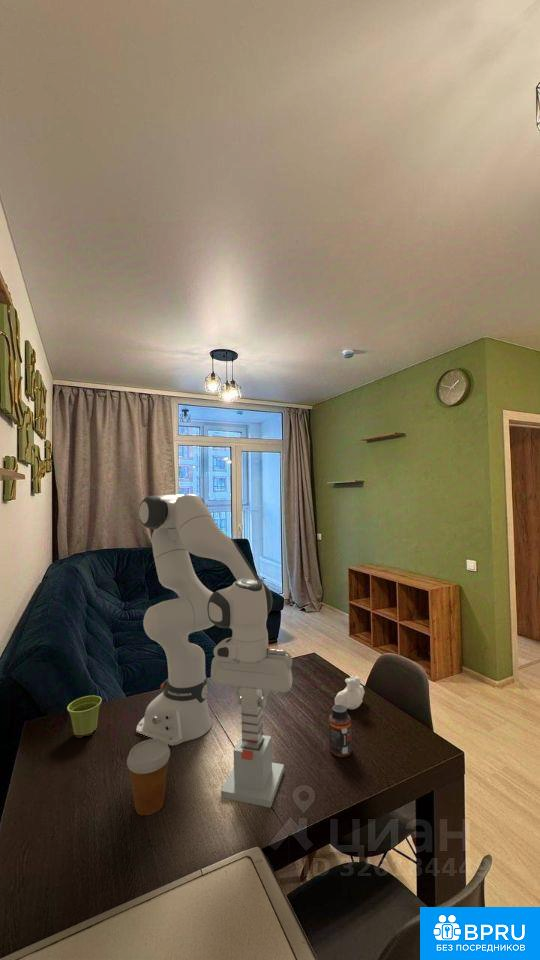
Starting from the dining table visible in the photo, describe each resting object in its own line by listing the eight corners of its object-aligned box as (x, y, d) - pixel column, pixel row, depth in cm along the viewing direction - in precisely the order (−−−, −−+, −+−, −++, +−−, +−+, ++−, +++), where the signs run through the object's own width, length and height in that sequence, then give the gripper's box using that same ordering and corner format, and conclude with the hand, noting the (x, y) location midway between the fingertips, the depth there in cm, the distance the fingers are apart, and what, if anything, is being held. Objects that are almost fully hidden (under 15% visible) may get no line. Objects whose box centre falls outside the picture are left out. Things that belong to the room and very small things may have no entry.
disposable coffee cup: (147, 829, 82) (146, 770, 82) (118, 810, 87) (117, 755, 87) (179, 798, 90) (179, 745, 90) (151, 783, 95) (151, 733, 95)
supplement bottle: (352, 759, 101) (350, 715, 102) (329, 757, 102) (327, 713, 103) (352, 745, 107) (350, 703, 107) (330, 743, 108) (328, 701, 109)
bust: (338, 719, 123) (352, 700, 118) (325, 696, 128) (338, 677, 123) (365, 707, 129) (380, 688, 124) (351, 686, 135) (365, 667, 129)
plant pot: (60, 738, 114) (59, 708, 114) (86, 721, 122) (85, 693, 123) (83, 745, 110) (83, 714, 110) (109, 727, 119) (108, 698, 119)
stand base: (221, 797, 90) (220, 752, 90) (239, 762, 101) (238, 723, 102) (270, 807, 86) (269, 761, 87) (284, 770, 98) (282, 730, 98)
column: (242, 755, 93) (240, 687, 93) (248, 745, 97) (246, 679, 97) (258, 758, 91) (256, 689, 92) (263, 747, 95) (261, 681, 96)
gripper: (294, 645, 95) (296, 703, 95) (218, 639, 101) (219, 693, 100) (288, 656, 89) (290, 717, 89) (207, 648, 95) (208, 706, 94)
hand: (251, 704), depth 95 cm, fingers closed on column, 4 cm apart
